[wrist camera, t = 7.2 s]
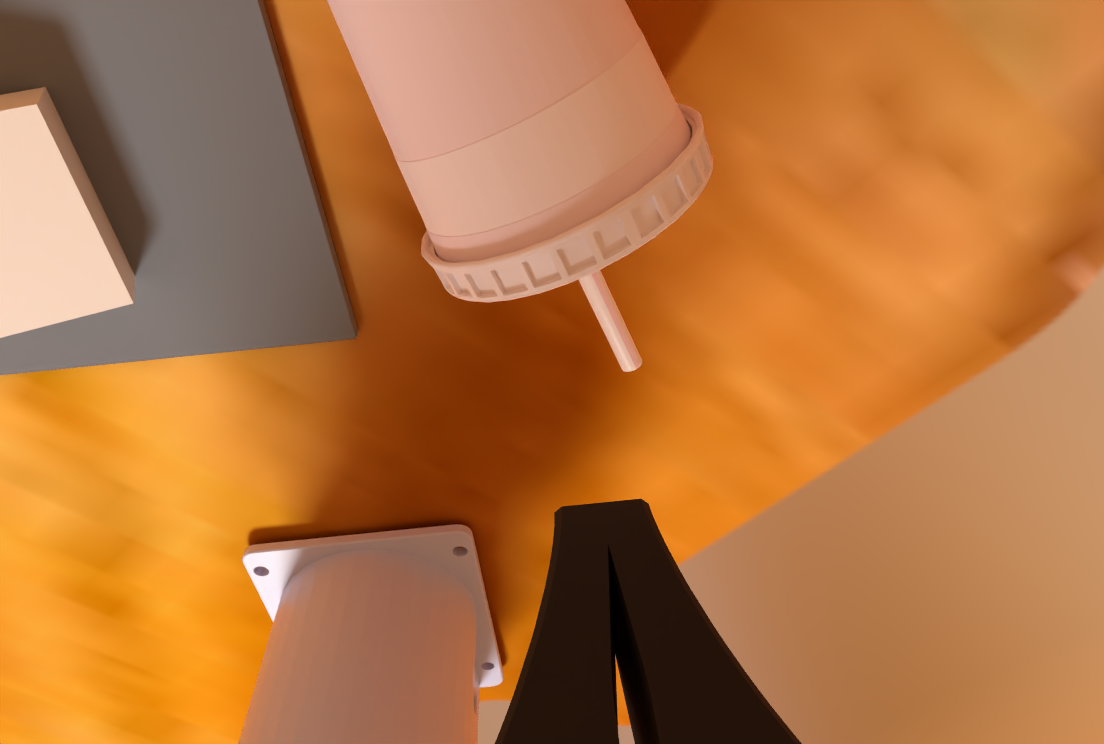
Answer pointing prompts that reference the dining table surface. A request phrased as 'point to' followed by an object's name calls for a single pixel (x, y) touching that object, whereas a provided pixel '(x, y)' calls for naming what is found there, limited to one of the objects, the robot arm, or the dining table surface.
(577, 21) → the smoothie
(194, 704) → the dining table surface
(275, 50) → the runner mat
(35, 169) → the domino
